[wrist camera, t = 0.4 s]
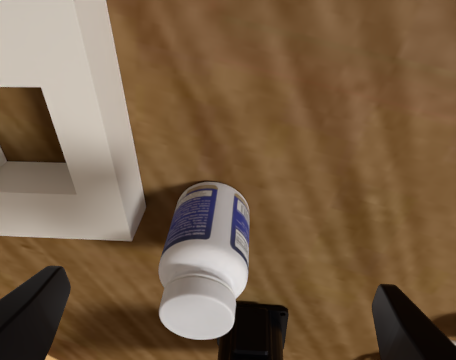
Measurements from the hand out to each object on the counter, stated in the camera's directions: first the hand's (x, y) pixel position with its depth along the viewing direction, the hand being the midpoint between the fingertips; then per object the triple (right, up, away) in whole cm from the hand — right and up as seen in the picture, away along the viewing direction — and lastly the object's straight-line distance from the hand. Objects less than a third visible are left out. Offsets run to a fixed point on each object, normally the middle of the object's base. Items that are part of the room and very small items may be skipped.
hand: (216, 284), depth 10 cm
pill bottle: (-1, +1, +15) cm, 15 cm away
